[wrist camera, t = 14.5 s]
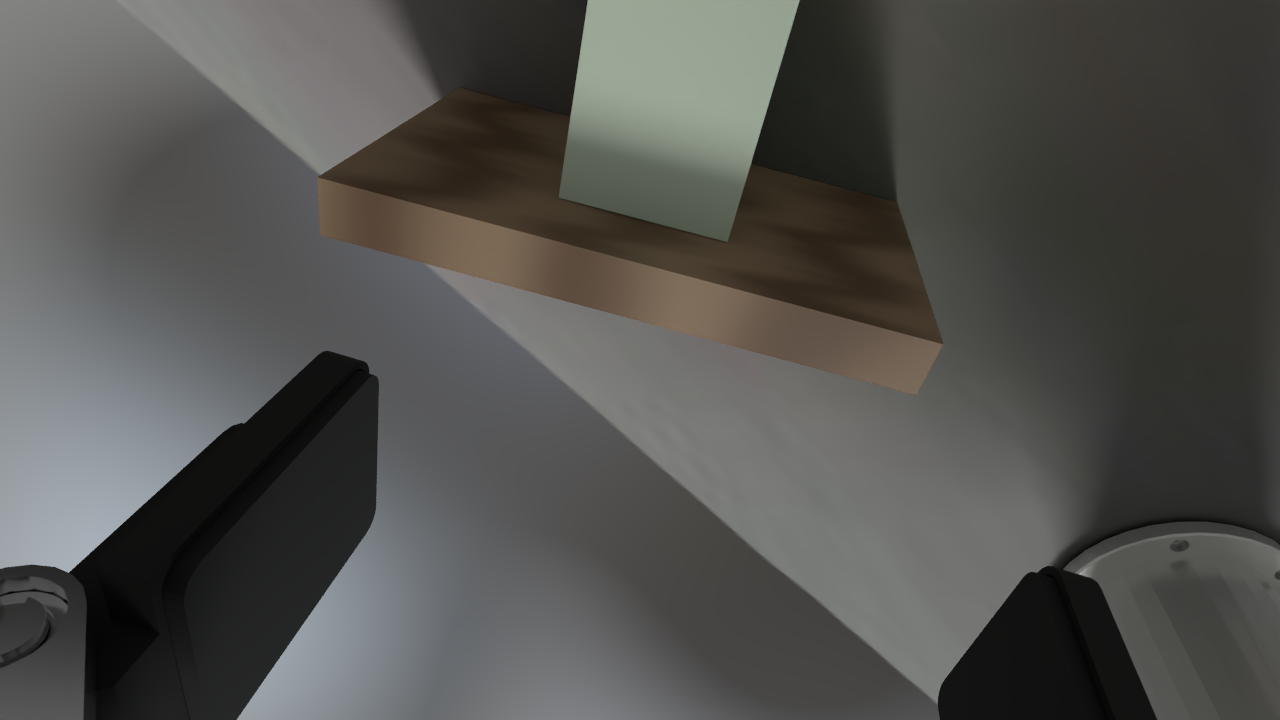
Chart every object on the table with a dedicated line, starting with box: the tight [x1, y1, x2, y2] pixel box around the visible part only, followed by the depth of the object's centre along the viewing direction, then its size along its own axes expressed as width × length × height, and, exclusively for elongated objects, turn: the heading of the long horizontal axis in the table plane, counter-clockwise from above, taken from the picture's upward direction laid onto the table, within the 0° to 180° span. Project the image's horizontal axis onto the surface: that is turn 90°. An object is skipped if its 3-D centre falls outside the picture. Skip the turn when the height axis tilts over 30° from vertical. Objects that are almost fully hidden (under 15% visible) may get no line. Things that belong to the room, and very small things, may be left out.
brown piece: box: [317, 88, 944, 395], centre depth 24 cm, size 20×16×12 cm
